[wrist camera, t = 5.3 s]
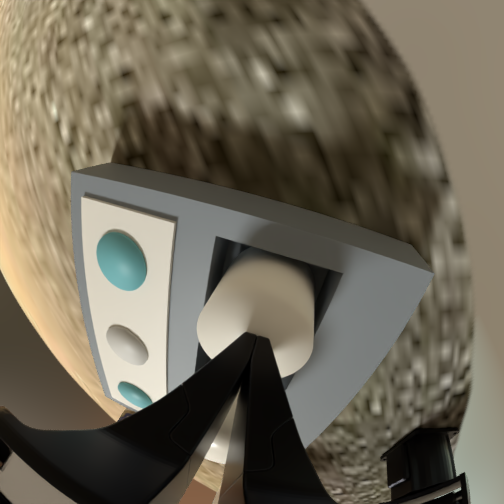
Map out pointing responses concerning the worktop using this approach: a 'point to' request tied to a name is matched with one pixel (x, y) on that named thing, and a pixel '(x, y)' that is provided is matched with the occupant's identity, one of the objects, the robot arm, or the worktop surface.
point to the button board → (210, 274)
